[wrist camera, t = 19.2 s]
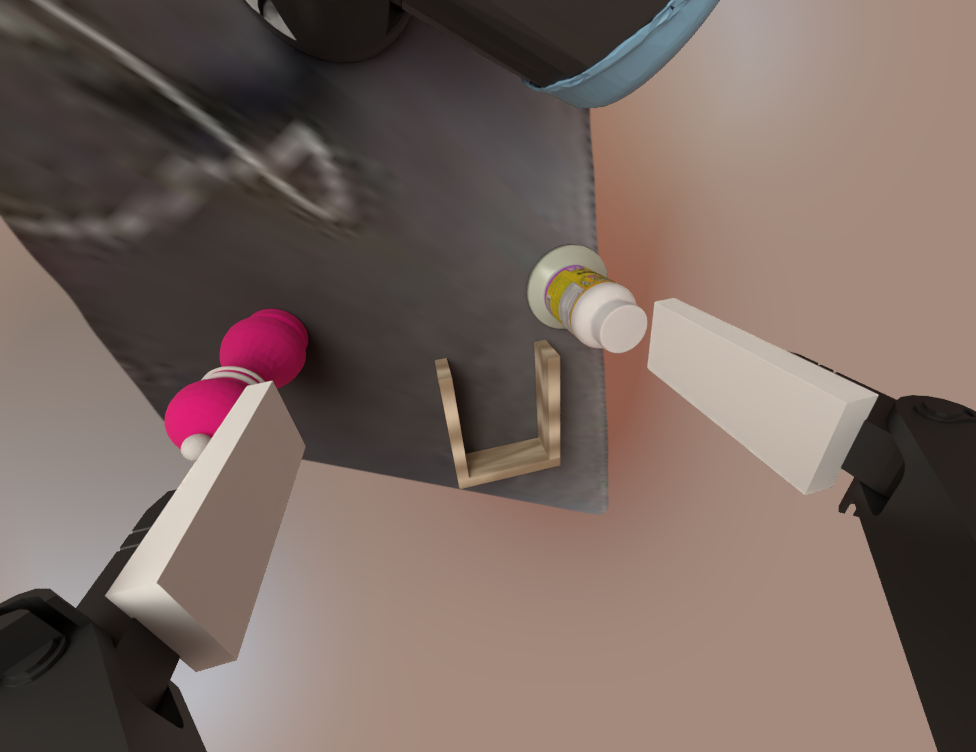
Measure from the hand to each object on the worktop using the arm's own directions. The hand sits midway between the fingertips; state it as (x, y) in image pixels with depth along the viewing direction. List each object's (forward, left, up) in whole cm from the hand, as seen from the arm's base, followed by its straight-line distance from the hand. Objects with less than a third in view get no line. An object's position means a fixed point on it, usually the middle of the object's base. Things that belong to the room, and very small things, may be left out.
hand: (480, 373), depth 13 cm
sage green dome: (+8, +16, -31) cm, 35 cm away
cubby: (+23, +6, -31) cm, 39 cm away
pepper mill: (+8, -18, -31) cm, 36 cm away
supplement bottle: (+8, +16, -30) cm, 35 cm away
